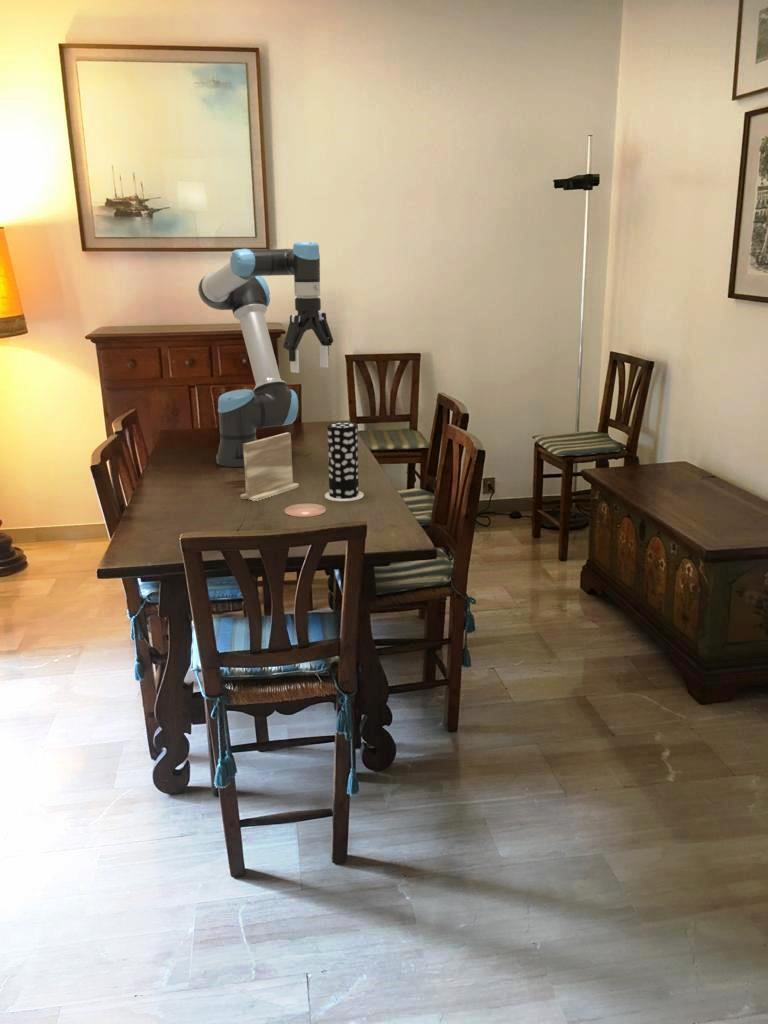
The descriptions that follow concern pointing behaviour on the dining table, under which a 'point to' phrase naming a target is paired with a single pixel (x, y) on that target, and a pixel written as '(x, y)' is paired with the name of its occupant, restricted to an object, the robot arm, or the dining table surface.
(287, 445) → the birch shelf
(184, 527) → the dining table surface
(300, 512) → the pink round disc
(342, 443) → the spotted tube
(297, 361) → the robot arm
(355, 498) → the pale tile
